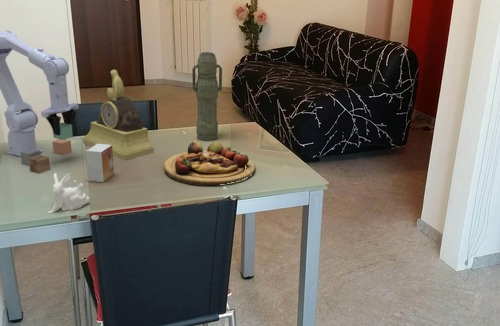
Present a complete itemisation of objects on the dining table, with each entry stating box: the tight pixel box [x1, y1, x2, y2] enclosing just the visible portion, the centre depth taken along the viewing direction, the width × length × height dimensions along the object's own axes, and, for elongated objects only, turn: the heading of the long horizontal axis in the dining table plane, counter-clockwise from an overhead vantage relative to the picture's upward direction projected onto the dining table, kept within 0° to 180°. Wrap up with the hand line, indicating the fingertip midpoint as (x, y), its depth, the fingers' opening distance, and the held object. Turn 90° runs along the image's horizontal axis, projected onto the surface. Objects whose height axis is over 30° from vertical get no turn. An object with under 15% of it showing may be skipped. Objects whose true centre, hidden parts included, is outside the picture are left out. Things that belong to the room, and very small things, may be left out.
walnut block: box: [29, 154, 51, 174], centre depth 172 cm, size 4×4×4 cm
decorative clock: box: [82, 69, 154, 161], centre depth 192 cm, size 28×13×30 cm, turn 49°
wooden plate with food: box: [163, 140, 256, 186], centre depth 177 cm, size 32×32×8 cm
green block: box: [52, 122, 74, 140], centre depth 178 cm, size 4×4×4 cm
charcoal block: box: [20, 148, 41, 167], centre depth 178 cm, size 4×4×4 cm
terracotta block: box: [52, 139, 73, 156], centre depth 189 cm, size 4×4×4 cm
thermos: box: [191, 51, 223, 142], centre depth 206 cm, size 9×12×35 cm
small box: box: [85, 144, 115, 183], centre depth 166 cm, size 8×6×10 cm
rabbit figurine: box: [46, 172, 90, 215], centre depth 146 cm, size 12×8×10 cm, turn 117°
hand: (62, 132), depth 178 cm, fingers closed on green block, 4 cm apart
